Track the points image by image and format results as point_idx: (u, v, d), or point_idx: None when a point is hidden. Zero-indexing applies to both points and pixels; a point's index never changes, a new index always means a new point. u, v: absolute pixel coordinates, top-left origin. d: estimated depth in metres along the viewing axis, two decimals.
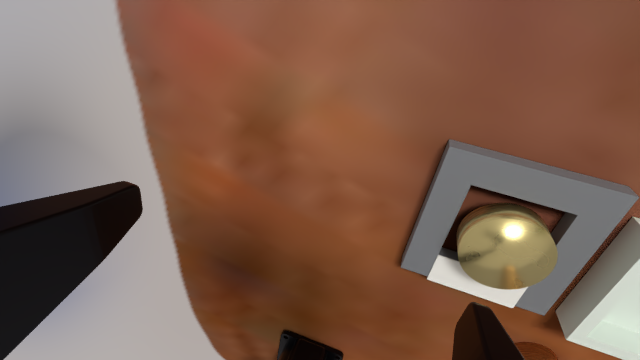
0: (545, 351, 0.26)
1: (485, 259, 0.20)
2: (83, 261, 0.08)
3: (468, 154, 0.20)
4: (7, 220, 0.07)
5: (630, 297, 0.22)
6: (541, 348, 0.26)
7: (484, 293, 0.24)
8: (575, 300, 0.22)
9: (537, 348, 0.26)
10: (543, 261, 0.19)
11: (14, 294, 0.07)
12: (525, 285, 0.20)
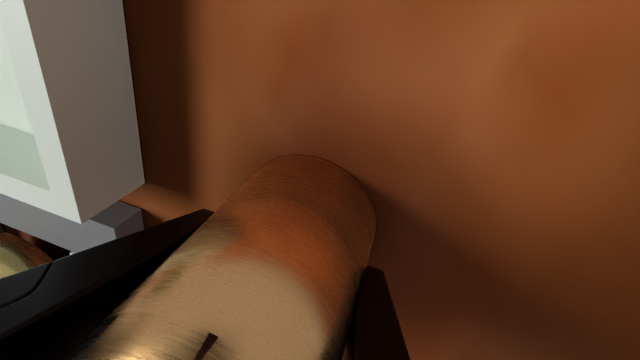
0: None
1: None
2: None
3: None
4: (111, 261, 0.06)
5: None
6: None
7: None
8: None
9: None
10: None
11: None
12: None
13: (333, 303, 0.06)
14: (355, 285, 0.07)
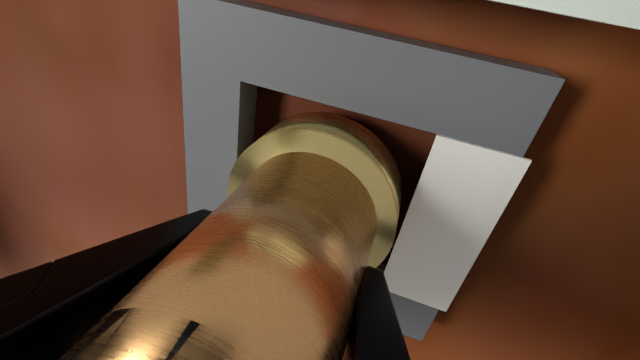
0: None
1: None
2: None
3: None
4: (111, 261, 0.06)
5: None
6: None
7: (478, 220, 0.10)
8: (504, 3, 0.08)
9: None
10: None
11: None
12: (374, 179, 0.09)
13: (334, 300, 0.06)
14: (356, 282, 0.07)
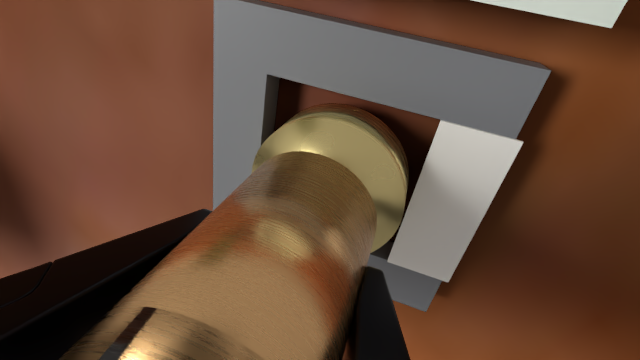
0: None
1: None
2: None
3: None
4: (111, 262, 0.06)
5: None
6: None
7: (477, 196, 0.11)
8: None
9: None
10: (320, 140, 0.10)
11: None
12: (386, 161, 0.10)
13: (334, 299, 0.06)
14: (356, 281, 0.07)
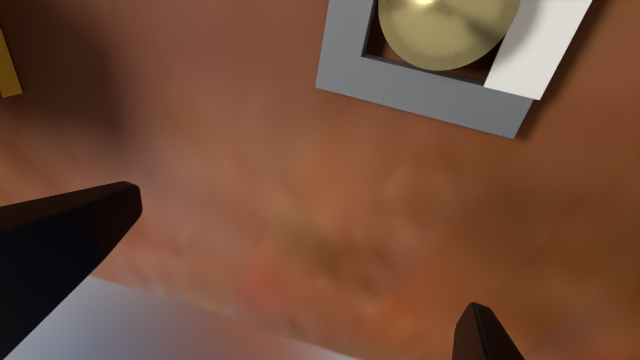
0: None
1: (454, 28, 0.13)
2: (83, 261, 0.08)
3: (322, 65, 0.17)
4: (7, 220, 0.07)
5: None
6: None
7: None
8: None
9: None
10: None
11: (14, 294, 0.07)
12: None
13: None
14: None
